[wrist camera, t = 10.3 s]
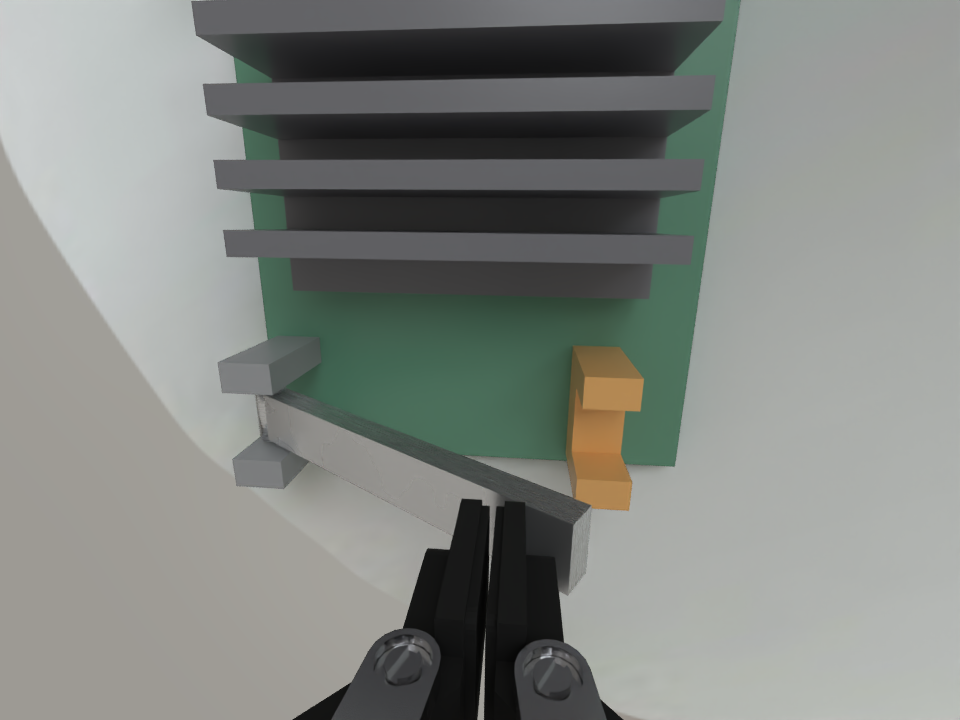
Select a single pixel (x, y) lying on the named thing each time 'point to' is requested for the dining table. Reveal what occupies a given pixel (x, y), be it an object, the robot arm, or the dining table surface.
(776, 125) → the dining table surface
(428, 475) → the strap
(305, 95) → the cooler board
